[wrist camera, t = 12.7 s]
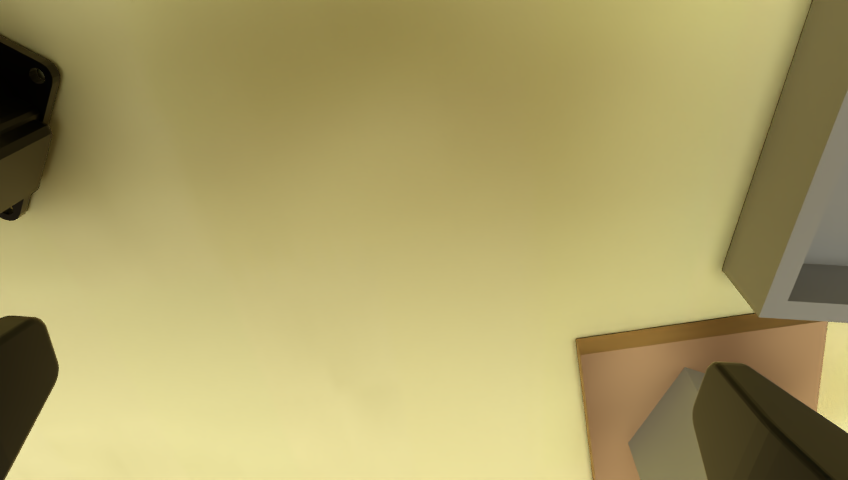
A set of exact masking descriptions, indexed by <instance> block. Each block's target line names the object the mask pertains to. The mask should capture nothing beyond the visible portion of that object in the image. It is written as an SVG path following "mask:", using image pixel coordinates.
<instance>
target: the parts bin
mask: <svg viewBox="0 0 848 480" xmlns="http://www.w3.org/2000/svg"><path fill="white" fill-rule="evenodd" d="M722 271H723V272H724V273H725V274H726V276H727V277H728V278H729V280H730V281H731V282H732V283H733V285H734V286H735V287H736V289H737V290H738V291H739V292H740V294H741V295H742V296H743V298H744V299H745V300H746V301H747V303H748V304H749V305H750V307H751V308H752V309H753V310H754V312H755V313H756V314H757V316H758V317H761V318H777V319H793V320H810V321H826V322H842V323H848V0H813V1H812V4H811V7H810V10H809V13H808V16H807V19H806V22H805V25H804V28H803V31H802V34H801V37H800V40H799V43H798V46H797V49H796V52H795V55H794V58H793V61H792V64H791V67H790V70H789V73H788V75H787V78H786V81H785V84H784V87H783V90H782V93H781V96H780V99H779V102H778V105H777V108H776V111H775V114H774V117H773V120H772V123H771V126H770V129H769V132H768V135H767V138H766V141H765V144H764V147H763V150H762V153H761V156H760V159H759V162H758V165H757V168H756V171H755V173H754V176H753V179H752V182H751V185H750V188H749V191H748V194H747V197H746V200H745V203H744V206H743V209H742V212H741V215H740V218H739V221H738V224H737V227H736V230H735V233H734V236H733V239H732V242H731V245H730V248H729V251H728V254H727V257H726V260H725V263H724V266H723V268H722Z"/></svg>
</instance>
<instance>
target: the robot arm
mask: <svg viewBox="0 0 848 480" xmlns="http://www.w3.org/2000/svg"><path fill="white" fill-rule="evenodd" d="M37 69H39V70H41V71H42V72H43V74H44V76H45V81H44V80H42V79H41V78H40V77H39V76H38V74H37ZM59 82H60V74H59V72H58V69H57V68H56V67H55V65H54V64H53V63H52V62H50V61H49V60H47V59H45V58H43V57H41V56H39V55H37V54H35V53H34V52H32V51H30V50H28V49H26V48H24V47H22V46H20V45H18V44H16V43H14V42H12V41H10V40H8V39H6V38H4V37H2V36H1V35H0V218H3V219H5V220H9V221H11V220H16V219H18V218H19V217H21V216H22V215H24V214H25V213H26V211H27V208H28V204H29V200H30V196H31V194H32V193H33V192H35V191H36V190H38V188H39V184H40V180H41V177H42V173H43V169H44V165H45V161H46V157H47V153H48V150H49V146H50V142H51V138H52V131H51V128H50V126H49V121H50V118H51V114H52V110H53V106H54V102H55V98H56V94H57V90H58V86H59ZM11 206H12V208H13V209H11V208H10V207H11ZM58 371H59V366H58V361H57V358H56V355H55V352H54V349H53V346H52V343H51V340H50V337H49V333H48V330H47V327H46V325H45V323H44V322H43V321H42V320H41V319H39V318H36V317H25V316H6V317H2V318H0V480H4V479H5V478H6V476H7V474H8V472H9V470H10V469H11V467H12V465H13V463H14V461H15V459H16V457H17V456H18V454H19V452H20V450H21V448H22V446H23V444H24V442H25V440H26V438H27V436H28V435H29V433H30V431H31V429H32V427H33V425H34V423H35V421H36V419H37V417H38V416H39V414H40V412H41V410H42V408H43V406H44V404H45V402H46V400H47V398H48V396H49V395H50V393H51V391H52V389H53V387H54V385H55V383H56V380H57V377H58ZM692 420H693V426H694V430H695V434H696V438H697V442H698V446H699V450H700V454H701V457H702V461H703V465H704V469H705V473H706V477H707V480H848V433H847V432H845V431H844V430H842V429H841V428H839V427H838V426H836V425H835V424H833V423H832V422H830V421H829V420H827V419H826V418H825V417H823V416H822V415H820V414H819V413H817V412H816V411H814V410H813V409H811V408H810V407H808V406H807V405H805V404H804V403H802V402H801V401H799V400H798V399H796V398H795V397H794V396H792V395H791V394H789V393H788V392H786V391H785V390H783V389H782V388H780V387H779V386H777V385H776V384H774V383H773V382H771V381H770V380H768V379H767V378H765V377H764V376H762V375H761V374H760V373H758V372H757V371H755V370H754V369H752V368H751V367H749V366H748V365H746V364H743V363H733V362H713V363H711V364H710V365H709V366H708V368H707V370H706V372H705V375H704V378H703V380H702V383H701V386H700V389H699V392H698V394H697V397H696V400H695V403H694V406H693V411H692Z"/></svg>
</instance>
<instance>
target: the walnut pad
mask: <svg viewBox="0 0 848 480" xmlns="http://www.w3.org/2000/svg"><path fill="white" fill-rule="evenodd" d="M827 324H828V322H826V321H810V320H793V319H777V318H761V317H758V316H757V314H756V313H755V314H748V315H741V316H734V317H727V318H720V319H713V320H706V321H699V322H692V323H685V324H678V325H671V326H664V327H657V328H650V329H643V330H636V331H629V332H622V333H615V334H608V335H601V336H594V337H587V338H580V339H576V346H577V354H578V362H579V370H580V378H581V386H582V394H583V402H584V410H585V418H586V427H587V435H588V443H589V451H590V459H591V467H592V475H593V480H640V477H639V474H638V471H637V468H636V465H635V462H634V459H633V456H632V453H631V450H630V447H629V444H628V443H629V441H630V440H631V439H632V437H633V436H634V435H635V433H636V432H637V431H638V429H639V428H640V427H641V425H642V424H643V423H644V421H645V420H646V419H647V417H648V416H649V414H650V413H651V412H652V410H653V409H654V408H655V406H656V405H657V404H658V402H659V401H660V400H661V398H662V397H663V396H664V394H665V393H666V392H667V390H668V389H669V388H670V386H671V385H672V384H673V382H674V381H675V380H676V378H677V377H678V376H679V374H680V373H681V372H682V370H683V369H684V368H685V367H686V368H689V369H692V370H696V371H699V372H702V373H705V372H706V370H707V368H708V366H709V365H710V364H711V363H713V362H733V363H743V364H746V365H748V366H749V367H751V368H752V369H754V370H755V371H757V372H758V373H760V374H761V375H762V376H764V377H765V378H767V379H768V380H770V381H771V382H773V383H774V384H776V385H777V386H779V387H780V388H782V389H783V390H785V391H786V392H788V393H789V394H791V395H792V396H794V397H795V398H796V399H798V400H799V401H801V402H802V403H804V404H805V405H807V406H808V407H810V408H811V409H813V410H814V411H816V412H817V404H818V396H819V388H820V380H821V372H822V364H823V356H824V348H825V340H826V332H827Z"/></svg>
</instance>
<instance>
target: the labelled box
mask: <svg viewBox="0 0 848 480" xmlns="http://www.w3.org/2000/svg"><path fill="white" fill-rule="evenodd" d="M704 375H705V373H702V372H699V371H696V370H692V369H689V368H686V367H685V368H684V369H683V370H682V372H681V373H680V374H679V376H678V377H677V378H676V380H675V381H674V382H673V384H672V385H671V386H670V388H669V389H668V390H667V392H666V393H665V394H664V396H663V397H662V398H661V400H660V401H659V402H658V404H657V405H656V406H655V408H654V409H653V410H652V412H651V413H650V414H649V416H648V417H647V419H646V420H645V421H644V423H643V424H642V425H641V427H640V428H639V429H638V431H637V432H636V433H635V435H634V436H633V437H632V439H631V440H630V441H629V443H628V444H629V447H630V450H631V453H632V456H633V459H634V462H635V465H636V468H637V471H638V474H639V477H640V480H707V477H706V473H705V469H704V465H703V461H702V457H701V454H700V450H699V446H698V442H697V438H696V434H695V430H694V426H693V420H692V411H693V406H694V403H695V400H696V397H697V394H698V392H699V389H700V386H701V383H702V380H703V378H704Z"/></svg>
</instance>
